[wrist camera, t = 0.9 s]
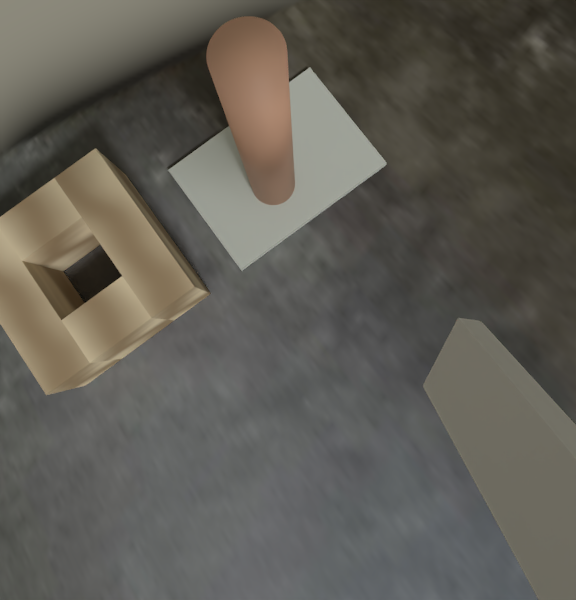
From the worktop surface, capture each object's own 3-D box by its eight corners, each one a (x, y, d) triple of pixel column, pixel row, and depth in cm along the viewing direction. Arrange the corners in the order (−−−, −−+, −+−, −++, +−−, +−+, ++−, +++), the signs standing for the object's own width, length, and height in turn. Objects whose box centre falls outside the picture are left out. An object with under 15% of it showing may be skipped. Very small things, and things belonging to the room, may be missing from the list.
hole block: (125, 174, 31) (95, 148, 26) (210, 293, 30) (194, 286, 25) (4, 262, 31) (-47, 250, 26) (85, 385, 30) (46, 394, 25)
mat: (309, 70, 31) (309, 67, 31) (385, 165, 30) (386, 163, 30) (169, 172, 31) (168, 170, 30) (241, 270, 30) (241, 269, 29)
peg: (278, 154, 30) (255, 1, 16) (303, 188, 30) (303, 60, 16) (243, 180, 30) (190, 48, 16) (268, 213, 30) (237, 108, 16)
